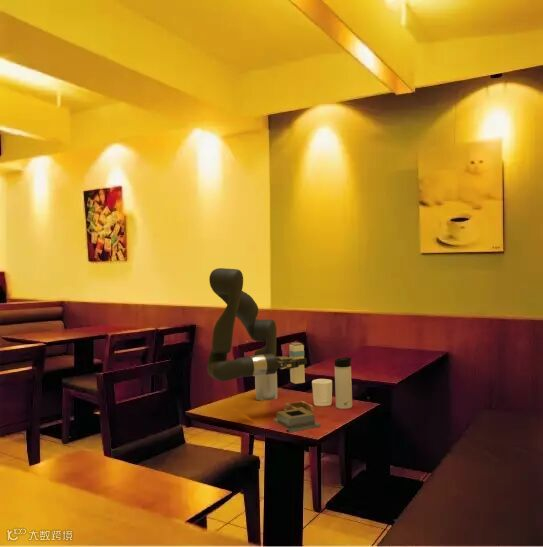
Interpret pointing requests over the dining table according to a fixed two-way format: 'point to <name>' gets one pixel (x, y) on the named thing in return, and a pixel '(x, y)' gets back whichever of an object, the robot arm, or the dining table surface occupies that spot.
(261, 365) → the robot arm
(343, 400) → the travel mug
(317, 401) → the white cup
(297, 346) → the plug
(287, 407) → the wooden square tray
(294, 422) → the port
